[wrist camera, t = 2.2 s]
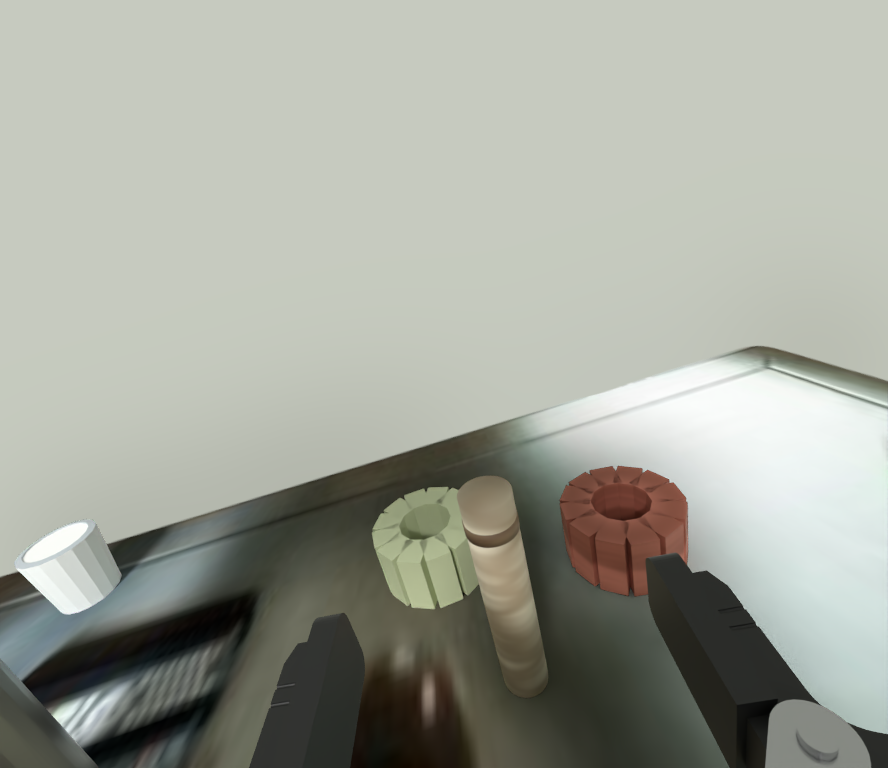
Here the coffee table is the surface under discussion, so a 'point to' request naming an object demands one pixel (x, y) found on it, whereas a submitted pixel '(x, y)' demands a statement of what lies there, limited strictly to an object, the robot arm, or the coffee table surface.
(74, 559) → the shot glass
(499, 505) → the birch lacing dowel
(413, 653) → the coffee table surface
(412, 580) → the pale green bead
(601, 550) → the red bead
